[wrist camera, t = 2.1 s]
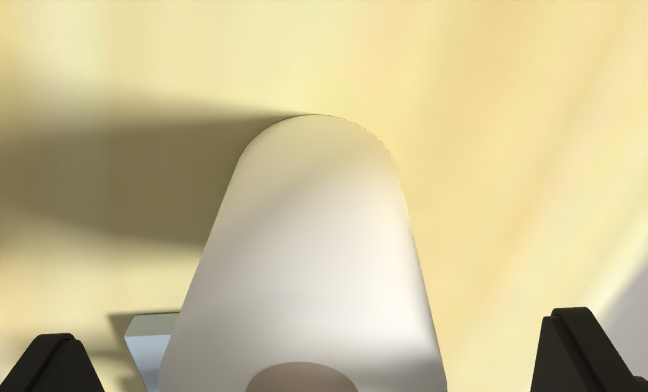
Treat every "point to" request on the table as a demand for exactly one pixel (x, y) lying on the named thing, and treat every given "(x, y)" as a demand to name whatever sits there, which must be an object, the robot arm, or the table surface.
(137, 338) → the holder
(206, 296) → the roll
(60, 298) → the table surface
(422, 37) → the table surface
